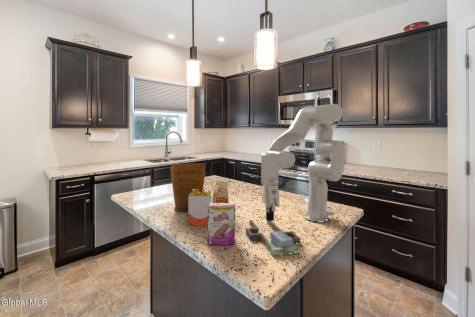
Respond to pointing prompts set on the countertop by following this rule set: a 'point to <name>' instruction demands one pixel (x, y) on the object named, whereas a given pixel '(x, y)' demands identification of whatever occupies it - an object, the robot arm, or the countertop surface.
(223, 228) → the candy bar box
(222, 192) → the milk carton
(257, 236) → the lane
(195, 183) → the pancake mix bag
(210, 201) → the french fries container
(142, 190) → the countertop surface
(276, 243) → the block
